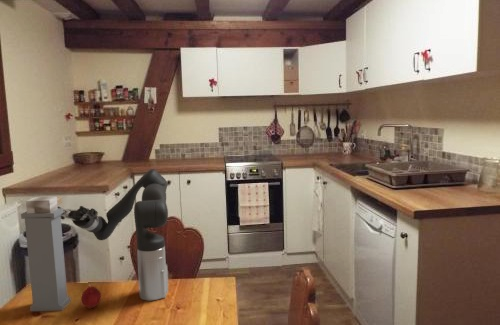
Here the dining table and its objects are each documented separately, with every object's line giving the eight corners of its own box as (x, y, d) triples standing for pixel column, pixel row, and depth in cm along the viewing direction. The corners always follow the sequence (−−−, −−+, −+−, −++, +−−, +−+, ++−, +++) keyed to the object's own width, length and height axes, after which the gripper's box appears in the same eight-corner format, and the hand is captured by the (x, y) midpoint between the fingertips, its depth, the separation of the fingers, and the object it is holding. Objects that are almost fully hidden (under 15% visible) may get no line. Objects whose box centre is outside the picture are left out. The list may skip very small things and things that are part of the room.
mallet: (68, 202, 126) (67, 191, 126) (50, 212, 113) (49, 200, 113) (47, 203, 126) (46, 191, 125) (27, 213, 113) (25, 201, 112)
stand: (70, 300, 123) (63, 208, 118) (62, 310, 117) (53, 213, 113) (40, 301, 122) (31, 209, 118) (30, 311, 116) (20, 214, 112)
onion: (104, 303, 121) (103, 280, 120) (95, 313, 115) (94, 289, 114) (88, 303, 121) (86, 280, 120) (78, 312, 116) (76, 288, 114)
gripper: (69, 210, 149) (50, 199, 134) (104, 210, 150) (89, 198, 135) (66, 229, 146) (46, 219, 131) (102, 228, 147) (86, 218, 132)
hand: (68, 208), depth 133 cm, fingers open, 8 cm apart
